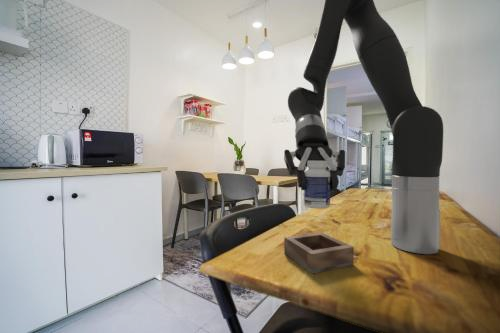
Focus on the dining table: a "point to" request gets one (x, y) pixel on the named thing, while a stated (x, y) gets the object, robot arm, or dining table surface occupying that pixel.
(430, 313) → the dining table surface
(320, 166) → the pill bottle
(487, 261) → the dining table surface
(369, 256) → the dining table surface
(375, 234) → the dining table surface
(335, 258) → the square tray
